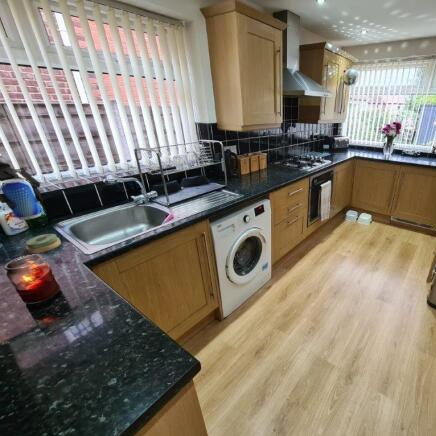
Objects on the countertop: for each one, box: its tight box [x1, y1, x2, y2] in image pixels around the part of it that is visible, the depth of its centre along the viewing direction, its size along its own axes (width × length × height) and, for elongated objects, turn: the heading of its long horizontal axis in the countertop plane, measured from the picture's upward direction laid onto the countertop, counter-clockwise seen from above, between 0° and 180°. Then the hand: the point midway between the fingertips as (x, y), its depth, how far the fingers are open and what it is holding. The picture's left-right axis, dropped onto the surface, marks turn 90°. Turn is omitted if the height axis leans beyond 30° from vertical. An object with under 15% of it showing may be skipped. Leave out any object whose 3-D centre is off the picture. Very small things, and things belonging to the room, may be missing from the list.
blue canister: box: [0, 177, 44, 221], centre depth 101 cm, size 8×8×16 cm
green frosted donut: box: [25, 233, 62, 254], centre depth 108 cm, size 11×11×4 cm
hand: (27, 204), depth 101 cm, fingers closed on blue canister, 8 cm apart
